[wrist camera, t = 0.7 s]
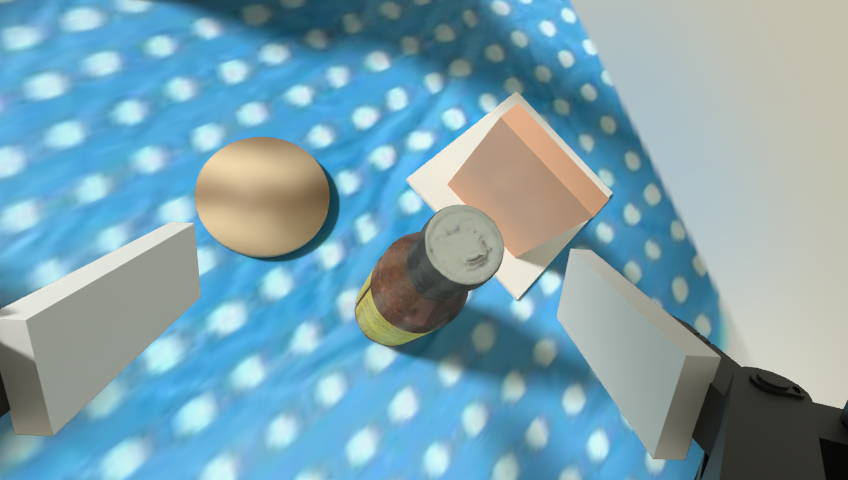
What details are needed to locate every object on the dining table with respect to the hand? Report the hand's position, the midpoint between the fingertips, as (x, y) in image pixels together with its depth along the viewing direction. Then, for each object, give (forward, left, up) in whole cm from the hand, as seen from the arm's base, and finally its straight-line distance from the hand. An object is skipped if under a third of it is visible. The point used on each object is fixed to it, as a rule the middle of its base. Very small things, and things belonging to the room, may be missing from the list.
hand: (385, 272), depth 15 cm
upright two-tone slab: (-8, +17, -22) cm, 29 cm away
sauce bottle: (-1, +5, -23) cm, 24 cm away
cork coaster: (-13, -4, -23) cm, 26 cm away
